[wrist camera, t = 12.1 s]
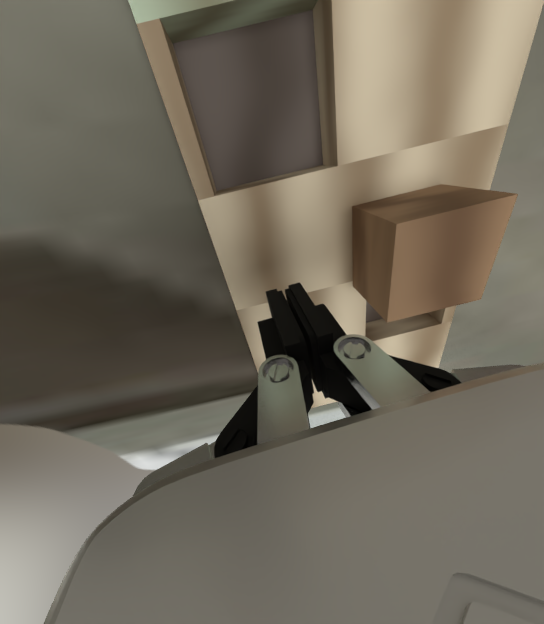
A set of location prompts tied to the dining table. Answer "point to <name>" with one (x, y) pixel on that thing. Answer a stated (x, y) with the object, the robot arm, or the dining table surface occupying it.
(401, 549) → the robot arm
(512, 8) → the trap deck
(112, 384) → the dining table surface
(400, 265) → the walnut block
